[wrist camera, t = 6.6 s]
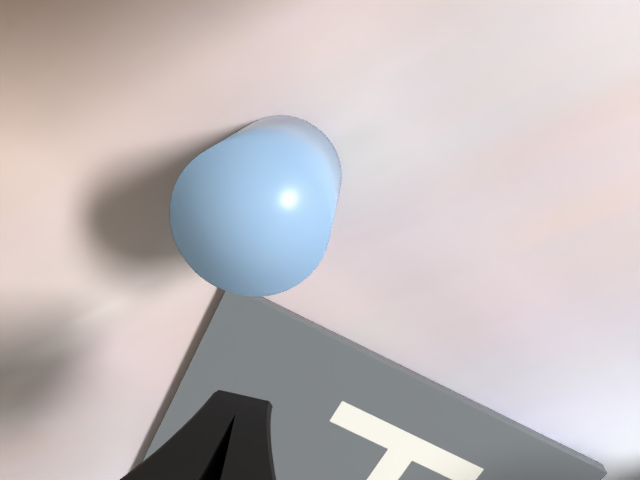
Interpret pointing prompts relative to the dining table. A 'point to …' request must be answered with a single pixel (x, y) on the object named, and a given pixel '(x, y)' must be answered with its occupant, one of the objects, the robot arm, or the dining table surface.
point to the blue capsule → (258, 206)
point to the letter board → (355, 407)
